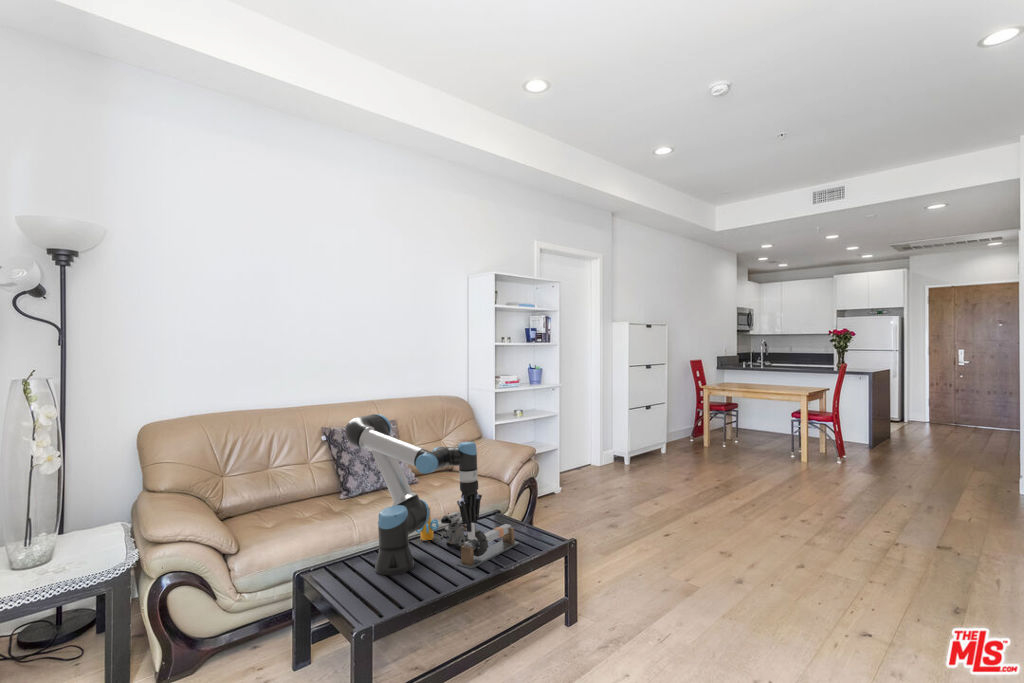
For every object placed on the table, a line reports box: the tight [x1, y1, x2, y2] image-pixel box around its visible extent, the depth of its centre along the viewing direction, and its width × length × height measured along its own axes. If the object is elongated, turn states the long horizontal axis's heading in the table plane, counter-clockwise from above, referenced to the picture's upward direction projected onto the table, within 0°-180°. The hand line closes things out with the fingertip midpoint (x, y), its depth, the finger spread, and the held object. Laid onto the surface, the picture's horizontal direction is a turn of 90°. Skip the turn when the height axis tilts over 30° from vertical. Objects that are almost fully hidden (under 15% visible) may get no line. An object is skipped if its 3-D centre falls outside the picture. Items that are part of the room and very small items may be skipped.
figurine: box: [440, 511, 467, 550], centre depth 228 cm, size 9×12×15 cm
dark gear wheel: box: [465, 528, 489, 557], centre depth 212 cm, size 2×10×10 cm, turn 54°
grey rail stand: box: [456, 523, 519, 569], centre depth 219 cm, size 32×8×9 cm, turn 144°
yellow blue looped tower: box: [415, 505, 440, 540], centre depth 241 cm, size 12×10×15 cm
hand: (471, 538), depth 210 cm, fingers closed
